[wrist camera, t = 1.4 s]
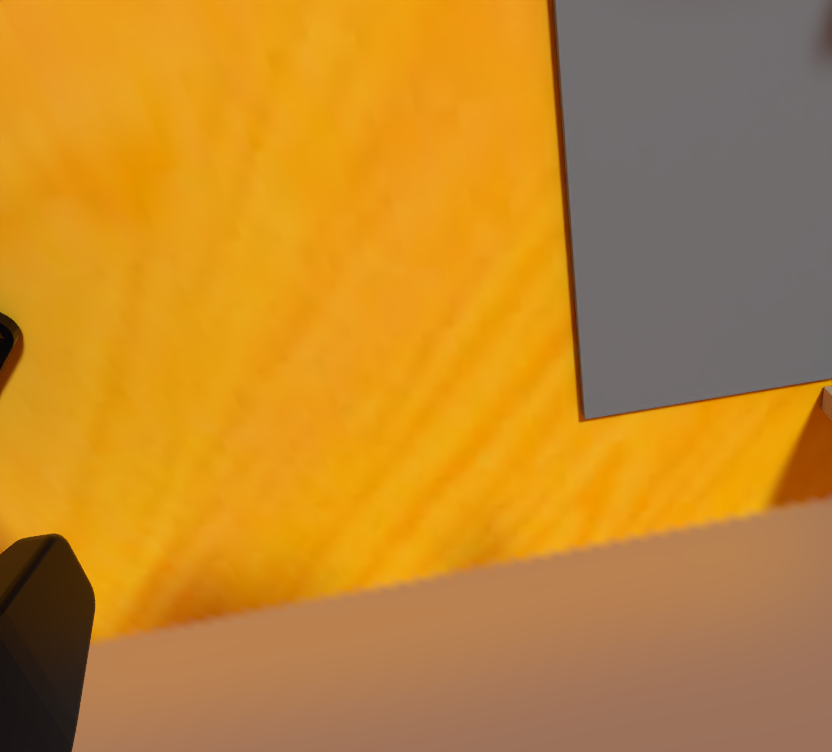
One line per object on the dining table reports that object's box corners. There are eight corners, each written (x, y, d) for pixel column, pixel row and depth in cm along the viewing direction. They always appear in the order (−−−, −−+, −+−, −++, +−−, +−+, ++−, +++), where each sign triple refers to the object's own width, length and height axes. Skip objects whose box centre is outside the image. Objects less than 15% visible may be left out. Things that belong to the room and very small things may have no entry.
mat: (582, 413, 24) (585, 419, 23) (550, -36, 17) (552, -35, 17) (996, 344, 23) (1003, 349, 23) (1117, -145, 17) (1129, -146, 17)
